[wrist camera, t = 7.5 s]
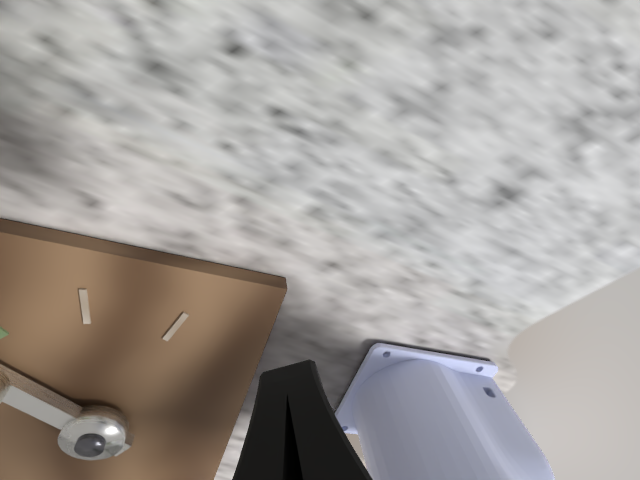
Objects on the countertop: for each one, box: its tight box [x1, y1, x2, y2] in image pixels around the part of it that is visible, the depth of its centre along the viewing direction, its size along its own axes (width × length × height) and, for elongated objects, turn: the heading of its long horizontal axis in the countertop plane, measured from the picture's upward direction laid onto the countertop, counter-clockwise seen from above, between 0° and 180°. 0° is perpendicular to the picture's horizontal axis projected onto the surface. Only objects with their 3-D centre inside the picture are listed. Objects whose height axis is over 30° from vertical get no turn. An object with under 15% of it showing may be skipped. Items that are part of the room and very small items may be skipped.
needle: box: [0, 364, 135, 460], centre depth 17 cm, size 11×3×5 cm, turn 35°
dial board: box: [0, 218, 287, 480], centre depth 21 cm, size 16×18×1 cm
